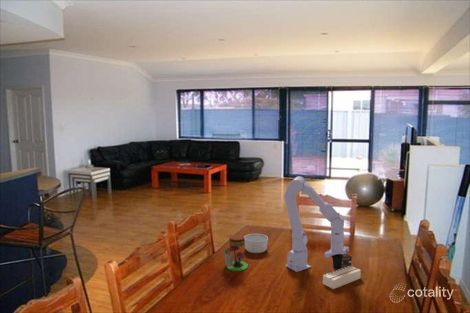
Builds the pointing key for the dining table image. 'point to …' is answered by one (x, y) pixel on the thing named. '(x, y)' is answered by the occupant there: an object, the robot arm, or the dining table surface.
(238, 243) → the plant terrarium
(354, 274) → the striped peg rail
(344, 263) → the box
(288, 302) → the dining table surface
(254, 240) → the ramekin
